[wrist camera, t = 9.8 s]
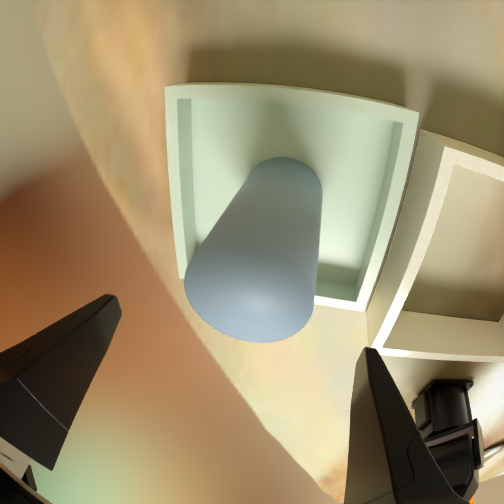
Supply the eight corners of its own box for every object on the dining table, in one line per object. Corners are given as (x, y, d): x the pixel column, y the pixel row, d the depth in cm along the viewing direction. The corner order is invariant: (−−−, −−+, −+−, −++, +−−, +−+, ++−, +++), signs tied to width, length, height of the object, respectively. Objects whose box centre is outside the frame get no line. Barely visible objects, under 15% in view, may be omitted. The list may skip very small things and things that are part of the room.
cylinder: (327, 163, 18) (325, 255, 9) (316, 233, 20) (302, 351, 12) (247, 153, 18) (178, 231, 10) (244, 222, 21) (190, 328, 13)
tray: (405, 106, 15) (419, 113, 13) (361, 285, 23) (363, 311, 21) (186, 82, 17) (164, 86, 15) (193, 256, 25) (179, 278, 23)
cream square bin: (568, 188, 13) (597, 214, 9) (499, 328, 22) (512, 362, 18) (419, 128, 16) (444, 146, 12) (366, 312, 24) (368, 353, 21)
